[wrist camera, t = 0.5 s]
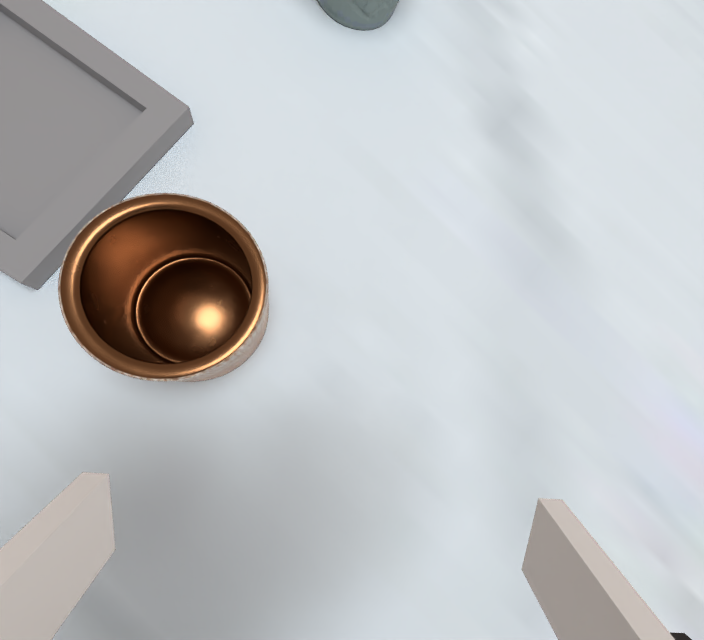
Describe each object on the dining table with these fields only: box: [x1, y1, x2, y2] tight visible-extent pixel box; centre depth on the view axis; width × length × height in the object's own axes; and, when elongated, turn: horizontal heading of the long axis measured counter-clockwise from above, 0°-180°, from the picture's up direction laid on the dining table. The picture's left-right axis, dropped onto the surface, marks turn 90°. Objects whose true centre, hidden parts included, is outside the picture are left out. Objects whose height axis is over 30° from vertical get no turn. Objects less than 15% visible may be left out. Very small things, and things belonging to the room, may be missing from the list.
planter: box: [58, 193, 269, 382], centre depth 25 cm, size 11×11×10 cm
